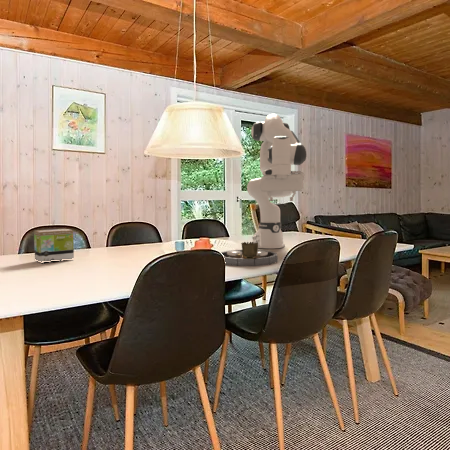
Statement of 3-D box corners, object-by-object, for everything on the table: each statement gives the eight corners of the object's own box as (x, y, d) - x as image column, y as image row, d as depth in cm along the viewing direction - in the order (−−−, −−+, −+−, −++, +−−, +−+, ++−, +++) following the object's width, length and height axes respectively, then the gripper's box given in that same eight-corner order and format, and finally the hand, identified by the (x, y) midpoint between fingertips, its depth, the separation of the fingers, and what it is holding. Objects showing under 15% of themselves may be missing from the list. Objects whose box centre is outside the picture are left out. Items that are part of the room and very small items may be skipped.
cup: (256, 262, 170) (256, 243, 169) (240, 261, 171) (239, 243, 171) (259, 259, 177) (259, 241, 176) (243, 258, 179) (243, 241, 178)
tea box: (41, 264, 178) (39, 231, 176) (34, 261, 185) (33, 230, 184) (74, 260, 188) (73, 229, 186) (67, 257, 195) (65, 228, 194)
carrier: (208, 258, 187) (208, 246, 187) (258, 254, 199) (258, 242, 198) (233, 268, 163) (233, 254, 163) (288, 262, 174) (288, 249, 174)
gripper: (303, 171, 185) (303, 200, 187) (259, 171, 187) (259, 200, 189) (304, 170, 179) (304, 201, 180) (259, 171, 181) (259, 201, 183)
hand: (281, 201), depth 185 cm, fingers open, 8 cm apart
